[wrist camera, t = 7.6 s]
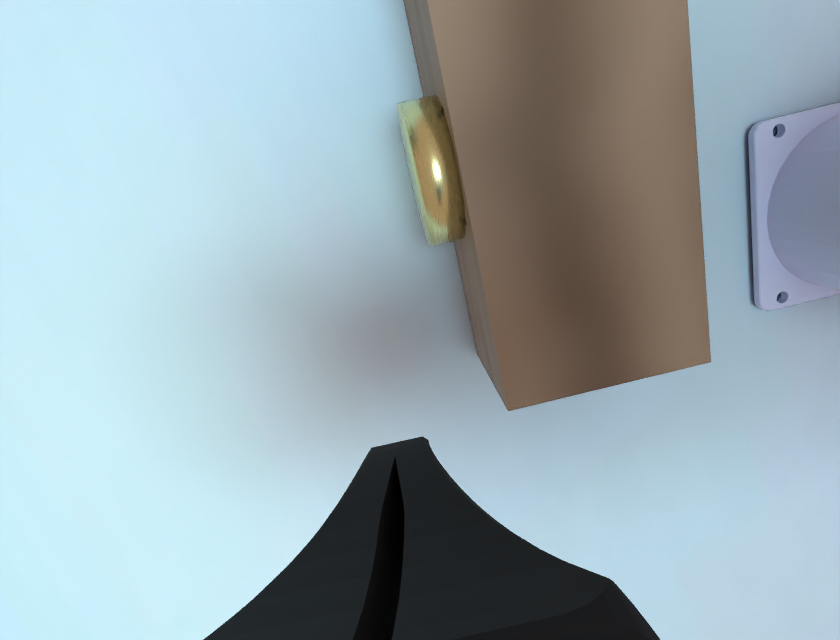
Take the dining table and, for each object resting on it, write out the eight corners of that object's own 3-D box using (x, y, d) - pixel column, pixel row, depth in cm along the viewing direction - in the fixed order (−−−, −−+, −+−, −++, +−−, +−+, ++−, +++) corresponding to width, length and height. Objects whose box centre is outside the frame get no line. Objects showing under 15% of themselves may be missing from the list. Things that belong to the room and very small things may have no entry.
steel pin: (631, 57, 18) (714, 15, 14) (644, 185, 20) (723, 186, 15) (395, 114, 18) (399, 90, 14) (424, 238, 20) (436, 255, 15)
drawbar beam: (567, -246, 16) (656, -458, 11) (630, 317, 22) (711, 362, 16) (362, -197, 16) (350, -386, 11) (477, 355, 22) (507, 411, 16)
